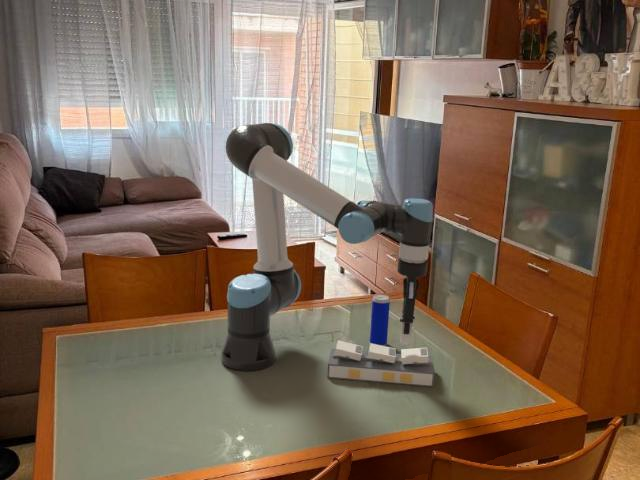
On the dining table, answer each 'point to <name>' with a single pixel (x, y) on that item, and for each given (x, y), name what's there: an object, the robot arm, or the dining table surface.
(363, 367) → the switch console
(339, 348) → the plate
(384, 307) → the beverage can
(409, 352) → the rocker
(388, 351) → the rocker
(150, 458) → the dining table surface
